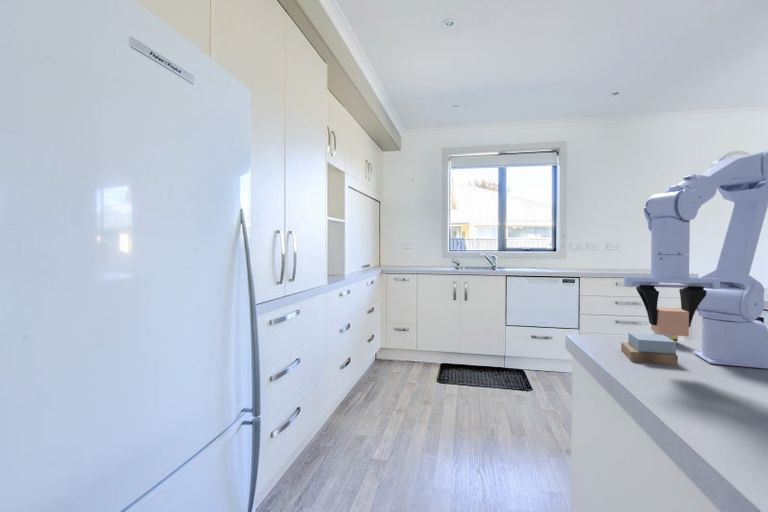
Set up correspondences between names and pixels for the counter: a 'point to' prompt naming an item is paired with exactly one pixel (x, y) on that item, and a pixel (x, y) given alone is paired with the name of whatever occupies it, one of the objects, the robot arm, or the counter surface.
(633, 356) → the walnut base block
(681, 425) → the counter surface
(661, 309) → the terracotta block
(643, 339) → the slate middle block
